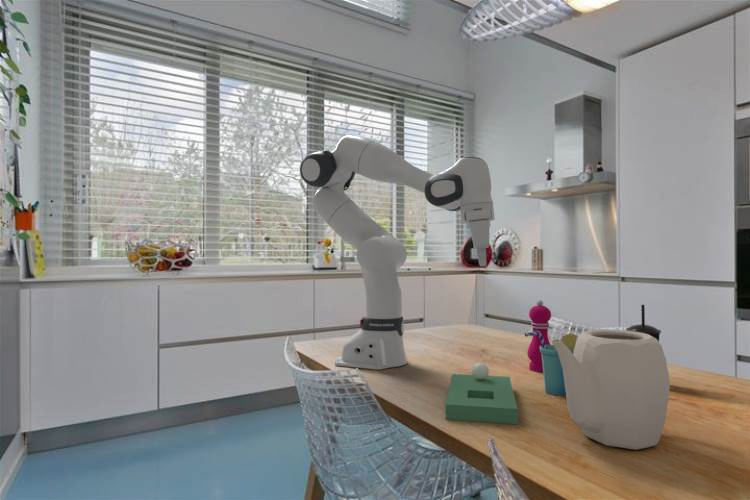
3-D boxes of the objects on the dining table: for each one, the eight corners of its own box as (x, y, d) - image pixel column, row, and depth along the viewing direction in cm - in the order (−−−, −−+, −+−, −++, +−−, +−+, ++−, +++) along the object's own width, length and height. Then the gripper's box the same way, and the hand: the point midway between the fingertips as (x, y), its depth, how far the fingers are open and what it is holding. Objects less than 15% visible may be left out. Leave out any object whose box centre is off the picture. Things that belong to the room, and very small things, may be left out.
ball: (471, 381, 108) (471, 364, 108) (472, 376, 112) (471, 360, 112) (489, 382, 107) (488, 365, 107) (488, 377, 111) (488, 361, 111)
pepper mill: (550, 366, 133) (549, 298, 133) (557, 373, 126) (556, 301, 126) (525, 366, 134) (524, 298, 134) (530, 372, 127) (529, 301, 127)
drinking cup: (664, 382, 116) (663, 304, 116) (658, 388, 110) (656, 307, 111) (631, 377, 121) (630, 302, 122) (623, 383, 116) (622, 305, 116)
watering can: (523, 434, 84) (521, 332, 84) (629, 415, 93) (628, 323, 93) (590, 471, 69) (588, 348, 69) (708, 444, 78) (706, 335, 78)
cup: (534, 399, 104) (533, 333, 104) (518, 389, 111) (517, 328, 111) (589, 395, 106) (588, 331, 106) (570, 386, 113) (569, 326, 114)
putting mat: (445, 419, 92) (445, 404, 92) (452, 385, 115) (452, 373, 115) (517, 424, 88) (517, 408, 88) (509, 388, 112) (509, 376, 112)
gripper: (466, 219, 135) (470, 265, 135) (465, 213, 115) (471, 267, 115) (487, 217, 134) (492, 263, 133) (491, 210, 114) (496, 265, 113)
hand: (482, 265), depth 124 cm, fingers open, 8 cm apart
